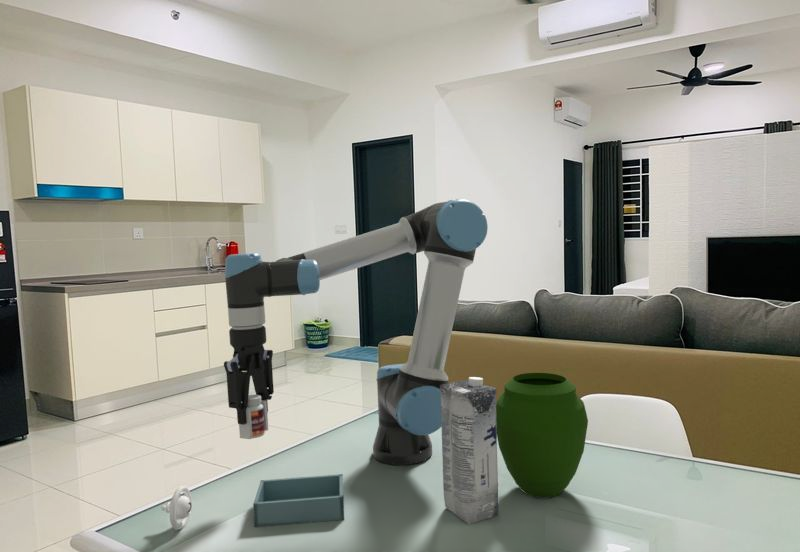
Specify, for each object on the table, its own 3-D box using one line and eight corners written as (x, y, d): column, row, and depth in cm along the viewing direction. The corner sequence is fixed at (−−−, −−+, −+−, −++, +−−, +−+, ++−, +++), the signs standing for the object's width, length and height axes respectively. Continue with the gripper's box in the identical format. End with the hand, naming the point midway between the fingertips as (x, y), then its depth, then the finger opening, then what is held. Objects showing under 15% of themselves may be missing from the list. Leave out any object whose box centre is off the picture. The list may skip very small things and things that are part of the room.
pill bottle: (250, 440, 123) (248, 401, 122) (237, 436, 126) (235, 397, 126) (269, 434, 127) (267, 396, 126) (256, 429, 130) (254, 392, 129)
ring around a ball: (182, 537, 111) (179, 496, 111) (153, 537, 112) (150, 496, 111) (199, 517, 119) (196, 479, 119) (172, 517, 120) (169, 479, 119)
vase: (594, 479, 131) (593, 371, 129) (582, 518, 113) (580, 394, 112) (508, 467, 139) (506, 366, 138) (484, 502, 122) (481, 386, 120)
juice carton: (467, 528, 111) (463, 387, 109) (438, 507, 120) (434, 377, 118) (505, 517, 115) (502, 381, 113) (474, 497, 124) (471, 371, 122)
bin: (343, 494, 128) (342, 474, 127) (344, 519, 116) (343, 497, 116) (261, 501, 126) (260, 480, 125) (254, 527, 114) (253, 504, 114)
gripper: (259, 319, 134) (265, 419, 136) (203, 333, 118) (211, 446, 120) (286, 320, 131) (292, 422, 133) (233, 334, 115) (241, 450, 117)
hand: (254, 433), depth 126 cm, fingers closed on pill bottle, 5 cm apart
